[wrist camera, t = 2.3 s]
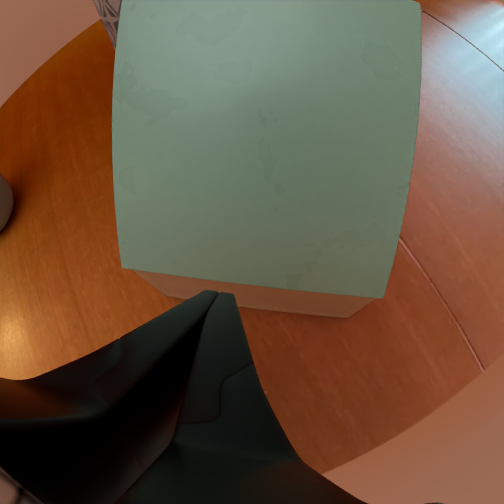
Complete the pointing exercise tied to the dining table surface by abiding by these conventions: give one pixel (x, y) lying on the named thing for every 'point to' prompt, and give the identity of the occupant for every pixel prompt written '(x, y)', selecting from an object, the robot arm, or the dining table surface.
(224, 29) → the lid
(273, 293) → the cream square box
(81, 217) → the dining table surface
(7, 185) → the cup
